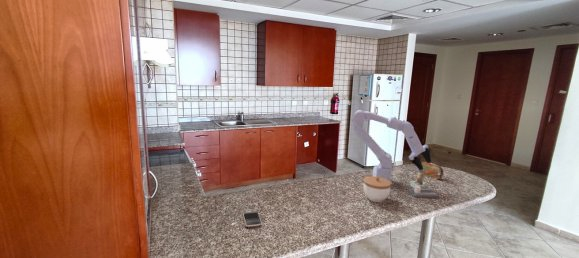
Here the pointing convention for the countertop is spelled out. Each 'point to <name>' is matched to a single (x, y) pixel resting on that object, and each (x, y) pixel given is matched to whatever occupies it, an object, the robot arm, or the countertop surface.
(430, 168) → the tin
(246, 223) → the cell phone
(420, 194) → the switch panel
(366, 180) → the lidded bowl
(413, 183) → the holder
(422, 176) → the tan rounded cylinder
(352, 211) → the countertop surface
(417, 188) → the switch tab
